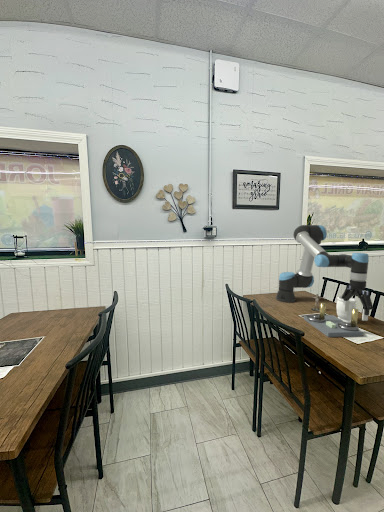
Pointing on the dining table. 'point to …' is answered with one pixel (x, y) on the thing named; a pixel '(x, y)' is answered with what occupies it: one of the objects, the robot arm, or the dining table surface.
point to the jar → (340, 309)
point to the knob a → (321, 316)
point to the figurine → (316, 302)
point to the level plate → (331, 330)
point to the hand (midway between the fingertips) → (354, 315)
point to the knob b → (353, 324)
